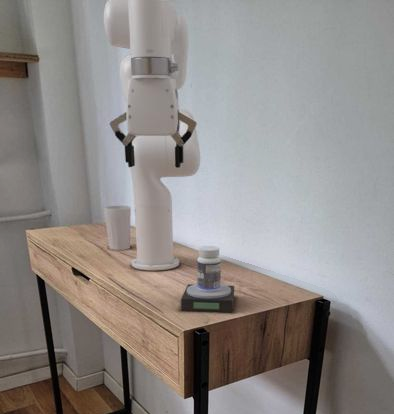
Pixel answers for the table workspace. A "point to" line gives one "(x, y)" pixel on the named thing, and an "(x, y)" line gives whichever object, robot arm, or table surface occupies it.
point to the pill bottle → (208, 269)
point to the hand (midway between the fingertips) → (154, 166)
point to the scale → (208, 299)
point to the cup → (118, 226)
